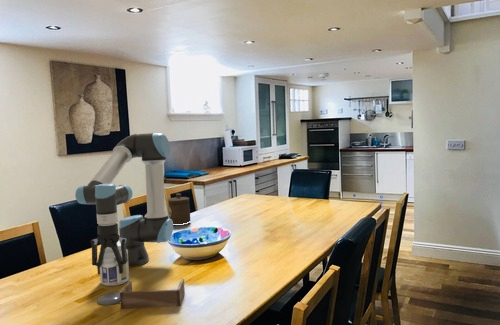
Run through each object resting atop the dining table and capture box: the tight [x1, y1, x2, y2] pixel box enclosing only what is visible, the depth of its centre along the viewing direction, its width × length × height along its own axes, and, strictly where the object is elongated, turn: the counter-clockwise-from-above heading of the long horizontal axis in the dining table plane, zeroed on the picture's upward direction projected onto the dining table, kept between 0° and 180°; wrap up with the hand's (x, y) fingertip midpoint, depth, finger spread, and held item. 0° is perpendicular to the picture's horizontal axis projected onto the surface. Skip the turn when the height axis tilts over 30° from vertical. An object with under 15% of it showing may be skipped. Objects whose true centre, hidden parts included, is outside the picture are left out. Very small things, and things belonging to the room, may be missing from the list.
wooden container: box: [167, 192, 191, 224], centre depth 281 cm, size 15×15×22 cm
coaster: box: [97, 291, 121, 306], centre depth 156 cm, size 11×11×1 cm
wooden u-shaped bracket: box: [119, 278, 186, 310], centre depth 153 cm, size 12×22×6 cm, turn 91°
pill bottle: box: [103, 256, 118, 285], centre depth 155 cm, size 6×6×10 cm
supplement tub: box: [98, 241, 130, 287], centre depth 174 cm, size 12×12×17 cm
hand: (111, 281), depth 156 cm, fingers closed on pill bottle, 6 cm apart
